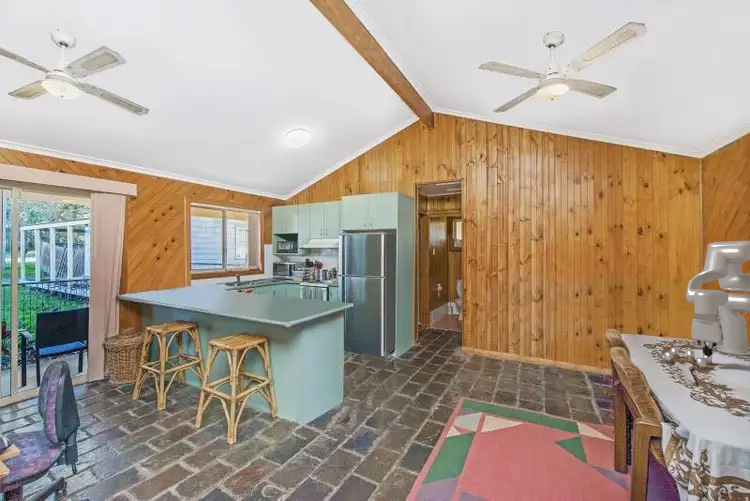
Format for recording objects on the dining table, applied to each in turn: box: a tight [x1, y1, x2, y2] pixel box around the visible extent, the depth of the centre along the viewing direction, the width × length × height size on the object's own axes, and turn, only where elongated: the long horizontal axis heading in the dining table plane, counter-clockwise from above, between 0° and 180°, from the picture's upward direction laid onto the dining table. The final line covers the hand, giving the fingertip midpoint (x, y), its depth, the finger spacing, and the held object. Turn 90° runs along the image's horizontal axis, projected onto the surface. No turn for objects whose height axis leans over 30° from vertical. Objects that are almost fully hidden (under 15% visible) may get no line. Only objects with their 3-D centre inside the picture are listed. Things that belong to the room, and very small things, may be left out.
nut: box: [681, 357, 694, 365], centre depth 157 cm, size 4×5×2 cm
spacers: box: [664, 347, 713, 371], centre depth 157 cm, size 13×15×5 cm
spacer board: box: [658, 356, 719, 373], centre depth 157 cm, size 16×18×1 cm
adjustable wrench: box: [674, 362, 696, 386], centre depth 145 cm, size 25×6×2 cm, turn 137°
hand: (707, 355), depth 150 cm, fingers closed
